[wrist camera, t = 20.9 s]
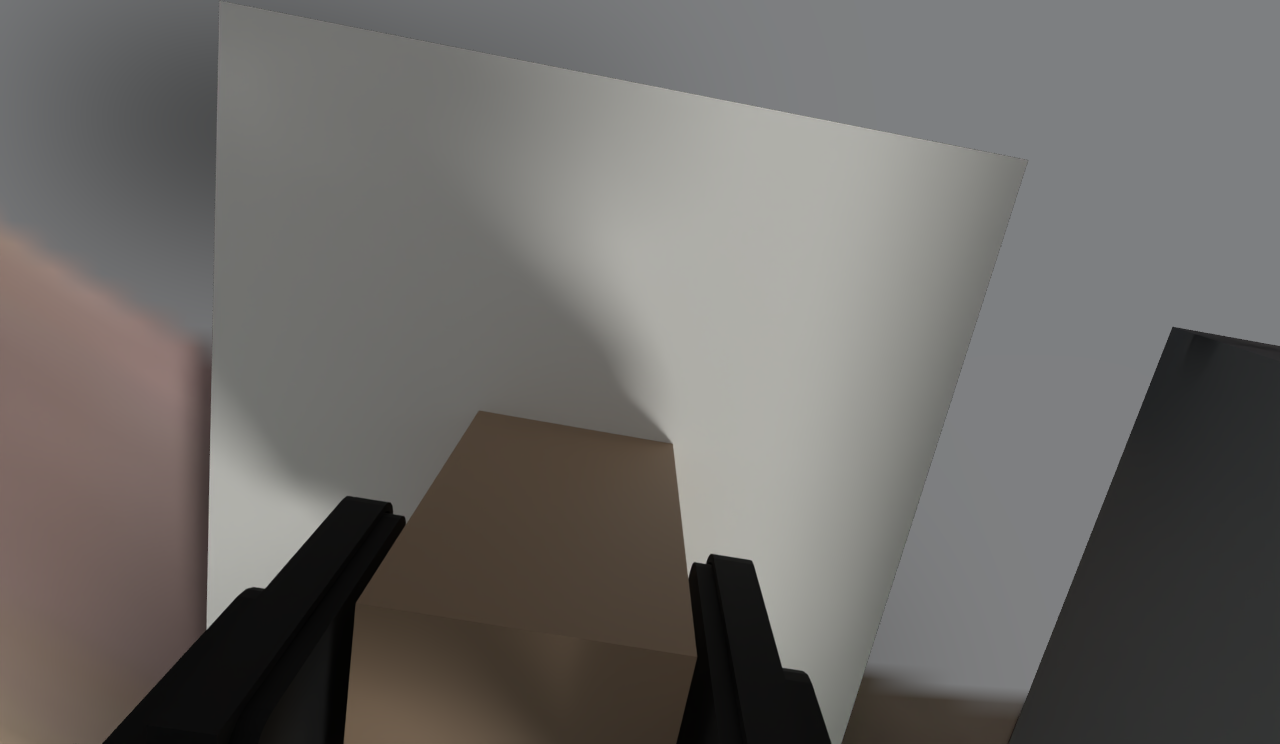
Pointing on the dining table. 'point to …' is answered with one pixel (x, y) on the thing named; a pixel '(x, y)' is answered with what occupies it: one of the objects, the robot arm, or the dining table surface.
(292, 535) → the lid
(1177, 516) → the toolbox
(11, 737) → the dining table surface
